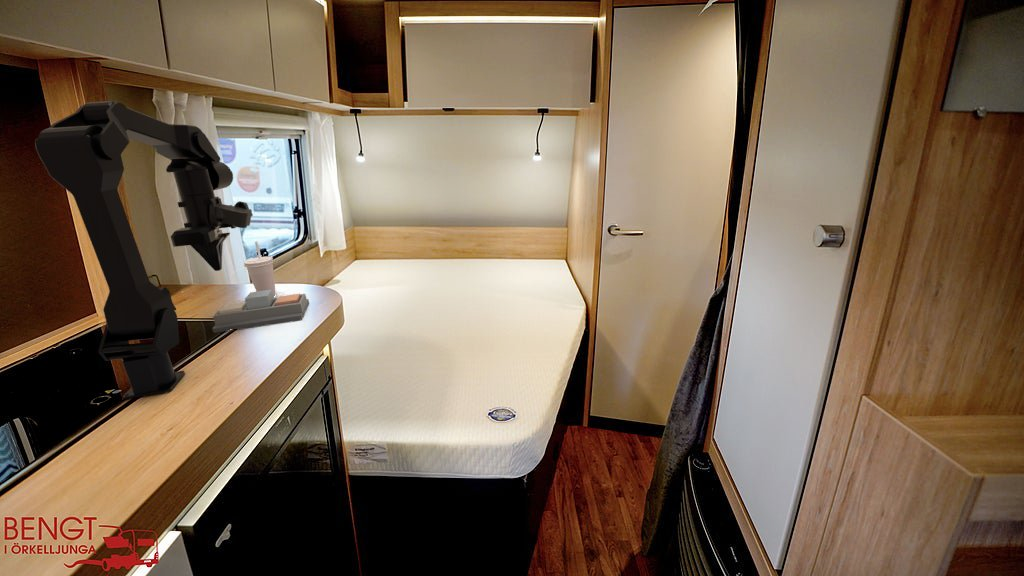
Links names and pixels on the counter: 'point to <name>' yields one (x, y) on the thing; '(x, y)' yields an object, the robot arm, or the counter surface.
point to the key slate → (259, 299)
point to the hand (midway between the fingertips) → (218, 270)
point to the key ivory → (233, 307)
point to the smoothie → (261, 272)
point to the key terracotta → (288, 299)
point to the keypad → (260, 316)
